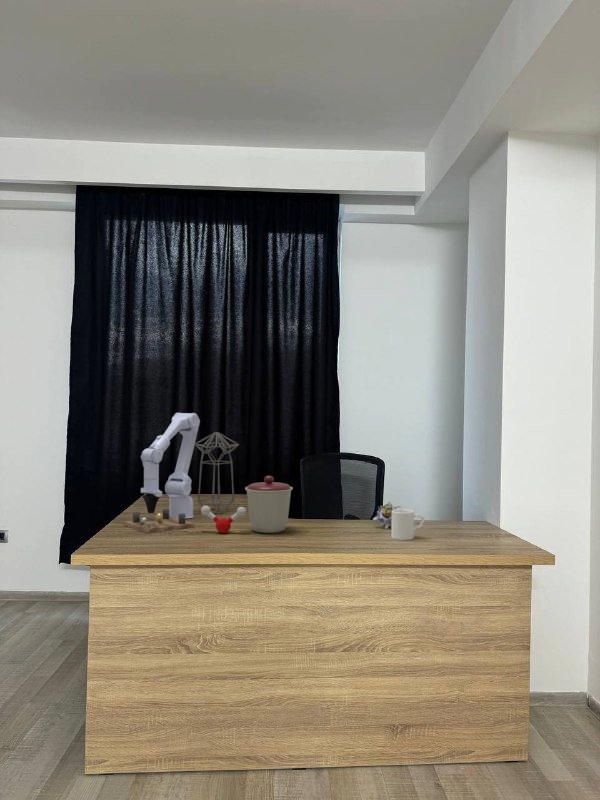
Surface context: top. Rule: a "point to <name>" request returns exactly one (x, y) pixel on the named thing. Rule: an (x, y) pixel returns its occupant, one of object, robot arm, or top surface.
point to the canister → (268, 505)
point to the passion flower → (385, 514)
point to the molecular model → (223, 523)
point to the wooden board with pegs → (166, 524)
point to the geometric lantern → (219, 436)
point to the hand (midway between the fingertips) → (151, 512)
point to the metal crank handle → (158, 519)
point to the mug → (404, 524)
